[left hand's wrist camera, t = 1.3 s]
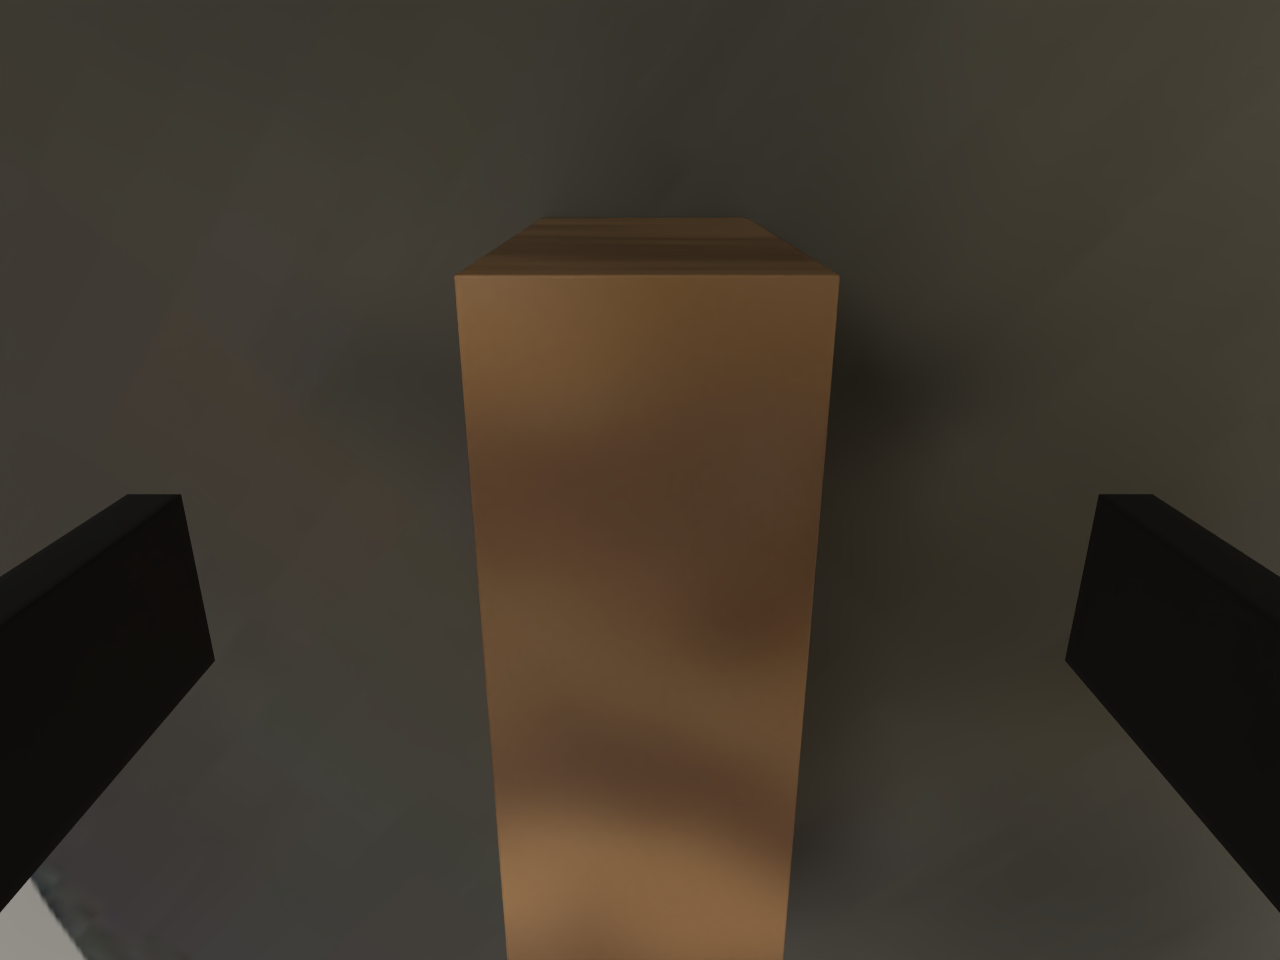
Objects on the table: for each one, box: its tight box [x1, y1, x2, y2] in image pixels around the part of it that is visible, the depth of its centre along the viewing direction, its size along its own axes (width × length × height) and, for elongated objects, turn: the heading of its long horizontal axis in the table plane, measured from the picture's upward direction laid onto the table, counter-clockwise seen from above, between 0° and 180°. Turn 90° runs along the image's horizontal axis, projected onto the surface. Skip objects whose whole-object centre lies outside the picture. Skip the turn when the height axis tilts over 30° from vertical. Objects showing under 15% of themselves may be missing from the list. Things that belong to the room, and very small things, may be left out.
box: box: [454, 218, 840, 960], centre depth 23 cm, size 21×6×13 cm, turn 0°
